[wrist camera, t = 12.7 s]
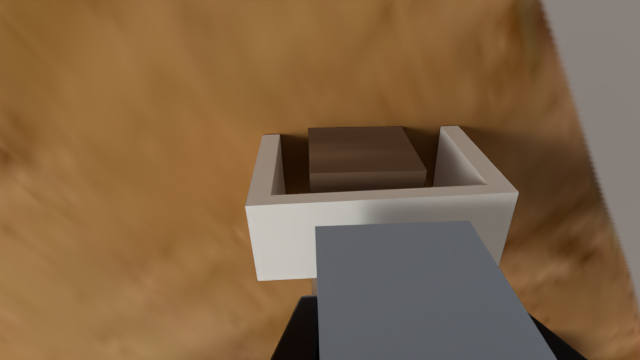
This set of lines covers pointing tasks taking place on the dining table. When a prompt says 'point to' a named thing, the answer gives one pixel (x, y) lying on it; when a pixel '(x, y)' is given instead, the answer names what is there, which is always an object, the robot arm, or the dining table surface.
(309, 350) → the robot arm
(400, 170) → the brown wooden bar
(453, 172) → the tunnel
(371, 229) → the block
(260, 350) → the dining table surface
